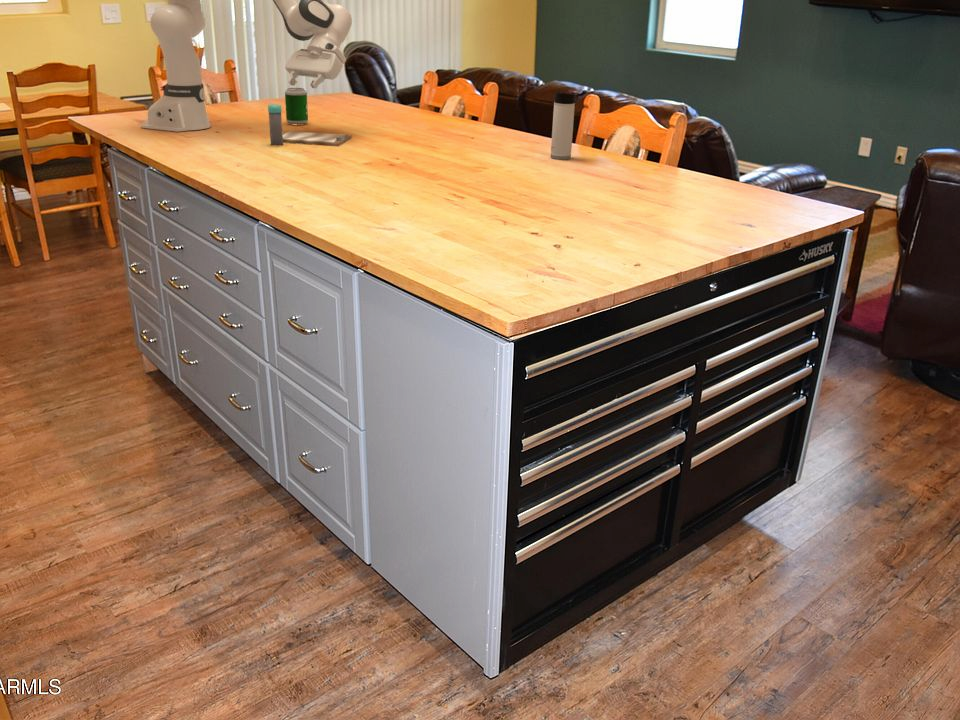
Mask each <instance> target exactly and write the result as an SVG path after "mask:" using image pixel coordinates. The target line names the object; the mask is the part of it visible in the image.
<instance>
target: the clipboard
mask: <svg viewBox="0 0 960 720" xmlns="http://www.w3.org/2000/svg"><path fill="white" fill-rule="evenodd" d="M282 135H283V142H289V143H288V144H296V143H304V144H303V145H312V144H315V145H314V146H316V145H317V146H331V147H332V146H333V147H340V146H341V145H343V144H345V142H347V141H348V140H351V138H352V134H347V133H346V134H345V133H344V134H343V133H342V134H339V133H338V134H337V133H321V132H307V131H305V132H304V131H293V130H292V131H290V130H289V131H285V132H282Z"/></svg>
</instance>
